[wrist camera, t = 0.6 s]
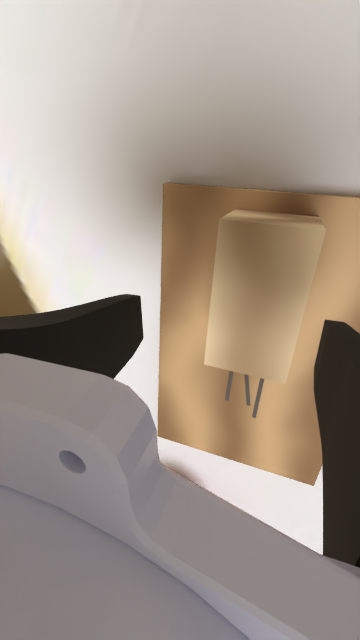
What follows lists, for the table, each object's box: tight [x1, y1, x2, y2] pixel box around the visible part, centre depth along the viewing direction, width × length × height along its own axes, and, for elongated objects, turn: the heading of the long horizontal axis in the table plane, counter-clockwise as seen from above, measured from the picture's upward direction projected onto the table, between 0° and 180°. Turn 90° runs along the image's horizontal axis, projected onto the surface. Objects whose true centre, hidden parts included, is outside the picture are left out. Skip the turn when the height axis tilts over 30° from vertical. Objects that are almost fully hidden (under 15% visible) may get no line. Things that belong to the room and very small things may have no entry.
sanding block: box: [204, 208, 326, 384], centre depth 17 cm, size 4×8×5 cm, turn 176°
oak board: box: [158, 183, 360, 486], centre depth 22 cm, size 14×22×1 cm, turn 176°
